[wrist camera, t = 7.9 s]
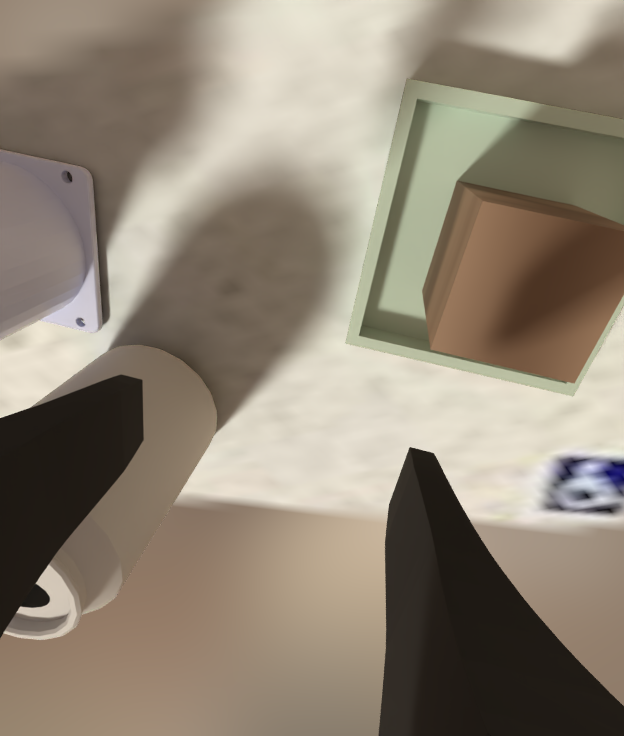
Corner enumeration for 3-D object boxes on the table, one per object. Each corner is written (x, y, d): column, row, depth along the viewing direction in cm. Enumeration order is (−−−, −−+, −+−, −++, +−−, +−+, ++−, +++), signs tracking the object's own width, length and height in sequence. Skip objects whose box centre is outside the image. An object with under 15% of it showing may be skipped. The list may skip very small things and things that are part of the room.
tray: (348, 329, 21) (345, 343, 20) (406, 83, 16) (406, 78, 15) (561, 378, 20) (573, 396, 19) (688, 136, 15) (716, 136, 14)
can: (113, 445, 27) (-64, 637, 17) (83, 333, 24) (-165, 488, 13) (229, 457, 26) (116, 673, 16) (215, 341, 23) (57, 519, 12)
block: (421, 290, 19) (430, 349, 14) (456, 180, 17) (482, 200, 12) (525, 314, 19) (574, 383, 14) (575, 205, 17) (655, 237, 11)
